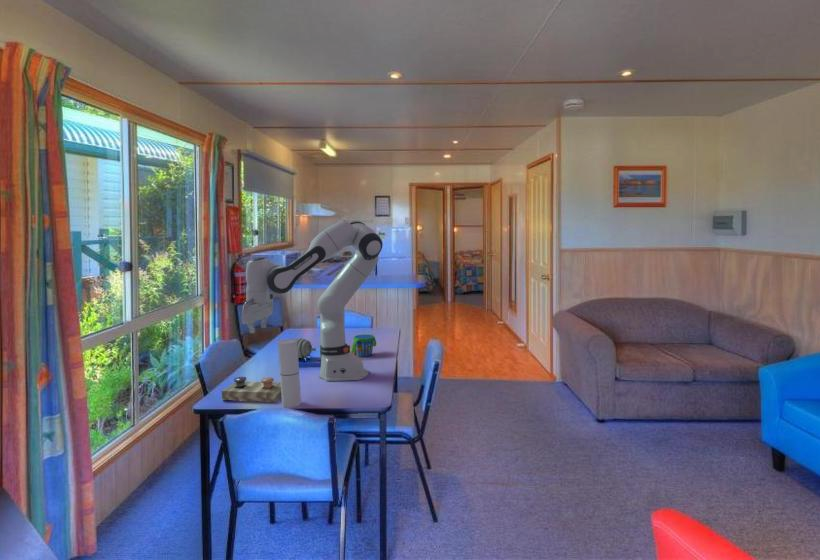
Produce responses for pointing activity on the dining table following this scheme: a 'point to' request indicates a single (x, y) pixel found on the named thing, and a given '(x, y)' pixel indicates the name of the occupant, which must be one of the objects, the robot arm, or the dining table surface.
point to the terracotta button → (267, 382)
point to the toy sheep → (304, 348)
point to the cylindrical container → (289, 372)
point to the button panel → (252, 392)
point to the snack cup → (363, 345)
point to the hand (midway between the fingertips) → (258, 330)
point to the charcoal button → (240, 382)
